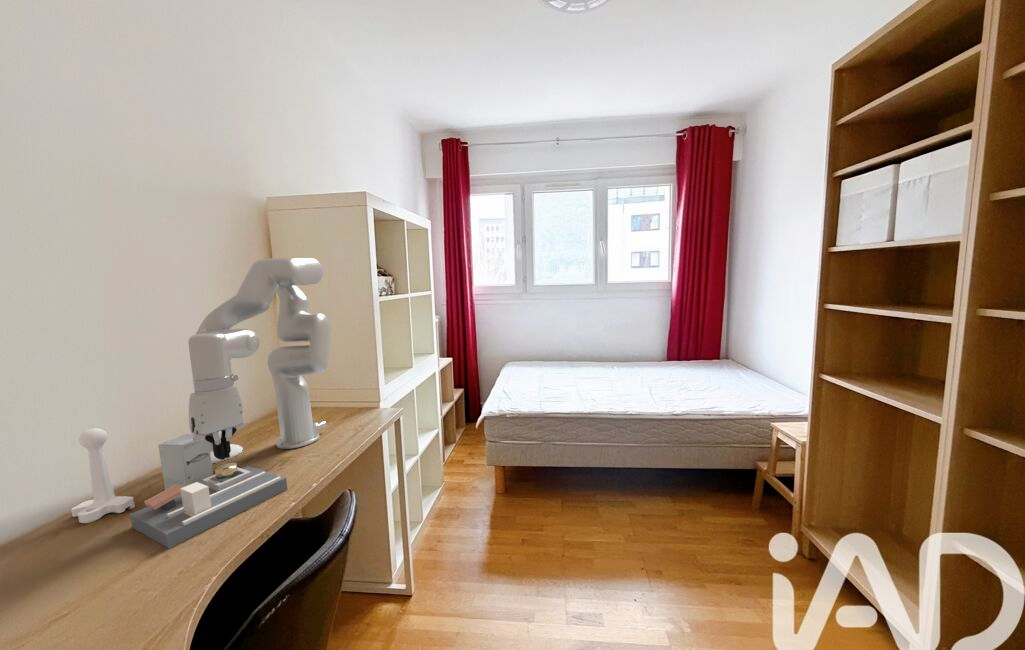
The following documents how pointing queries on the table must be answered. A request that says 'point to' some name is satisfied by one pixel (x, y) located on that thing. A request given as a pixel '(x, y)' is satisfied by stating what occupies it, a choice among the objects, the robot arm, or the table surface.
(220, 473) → the push button
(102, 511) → the joystick
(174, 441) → the supplement box
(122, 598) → the table surface
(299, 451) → the table surface
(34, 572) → the table surface
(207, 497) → the white slider block
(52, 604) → the table surface
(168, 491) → the rocker switch
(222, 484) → the control panel
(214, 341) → the robot arm
